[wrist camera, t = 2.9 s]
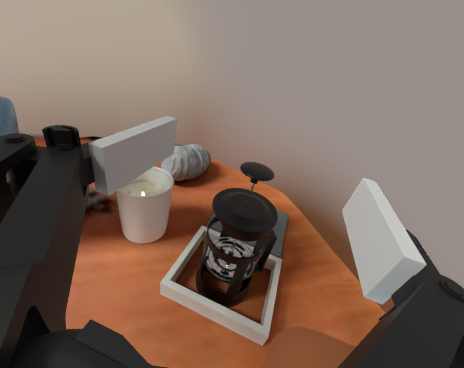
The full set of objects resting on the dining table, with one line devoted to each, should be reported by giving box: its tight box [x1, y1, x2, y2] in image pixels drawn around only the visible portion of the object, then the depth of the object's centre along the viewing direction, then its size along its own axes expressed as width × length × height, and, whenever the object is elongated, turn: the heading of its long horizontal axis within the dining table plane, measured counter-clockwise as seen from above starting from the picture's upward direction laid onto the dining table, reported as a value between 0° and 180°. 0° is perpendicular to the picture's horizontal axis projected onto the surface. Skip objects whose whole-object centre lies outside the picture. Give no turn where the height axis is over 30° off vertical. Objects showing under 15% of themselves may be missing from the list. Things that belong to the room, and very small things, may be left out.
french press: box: [196, 162, 278, 307], centre depth 31 cm, size 12×9×23 cm
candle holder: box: [115, 167, 174, 244], centre depth 40 cm, size 10×10×12 cm
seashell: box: [161, 144, 211, 181], centre depth 61 cm, size 16×15×10 cm
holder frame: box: [160, 225, 282, 346], centre depth 37 cm, size 14×17×3 cm
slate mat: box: [206, 210, 288, 258], centre depth 51 cm, size 15×17×1 cm
